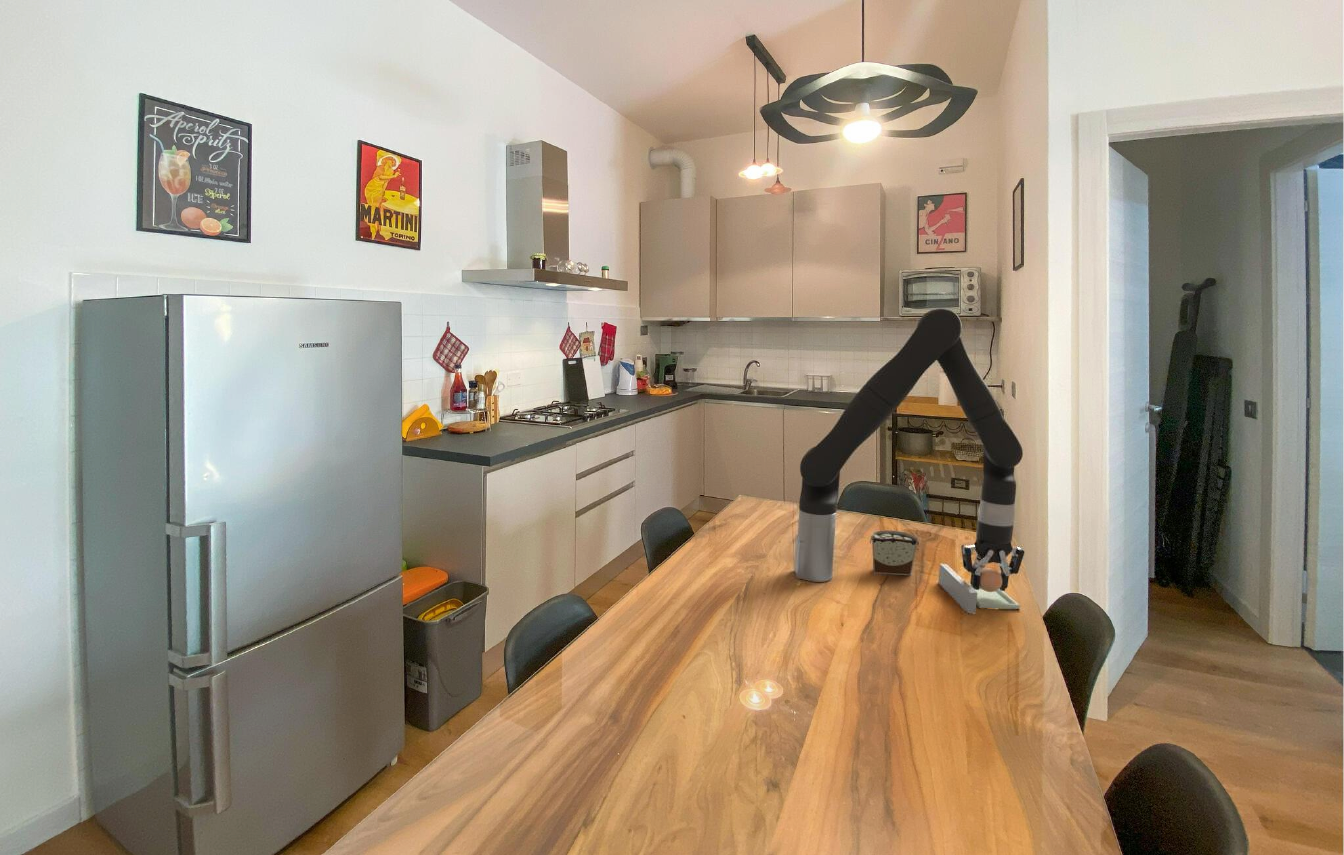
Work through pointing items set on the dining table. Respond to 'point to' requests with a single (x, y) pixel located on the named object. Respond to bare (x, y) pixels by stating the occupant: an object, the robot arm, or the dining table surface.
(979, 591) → the sage tray
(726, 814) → the dining table surface
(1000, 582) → the ball
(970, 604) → the low wall
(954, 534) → the dining table surface
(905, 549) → the food container
